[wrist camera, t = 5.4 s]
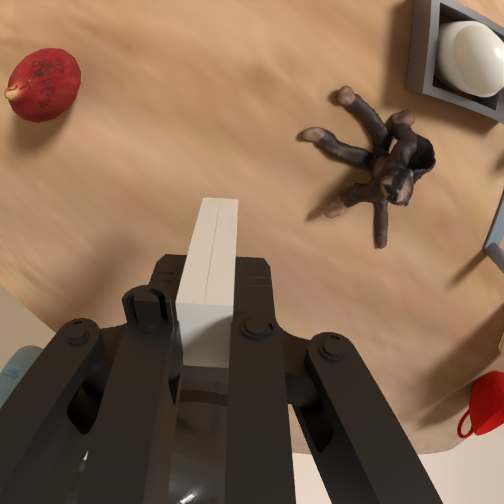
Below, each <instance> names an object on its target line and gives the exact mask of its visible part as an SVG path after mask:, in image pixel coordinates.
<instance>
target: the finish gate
mask: <svg viewBox="0 0 504 504" xmlns="http://www.w3.org/2000/svg"><path fill="white" fill-rule="evenodd" d="M503 235H504V194H503V197H502V200H501V203H500V206H499V209H498V211H497V214H496V217H495V220H494V222H493V225H492V228H491V230H490V233H489V235H488V238H487V240H486V243H485V245H484V248H485V253H486V254H487V255H488V256H489V257H490V259H491V260H492V261H493V262H494V263H495V264H496V265H497V266H498V267H499V269H500V270H501V271H502V272H503V273H504V251H503V250H502V249H501V248H500V247H499V245H500V242H501V240H502V237H503Z"/></svg>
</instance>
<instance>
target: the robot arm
mask: <svg viewBox="0 0 504 504" xmlns="http://www.w3.org/2000/svg"><path fill="white" fill-rule="evenodd" d="M237 216H238V199H222V198H203V201H202V204H201V208H200V211H199V215H198V218H197V222H196V225H195V229H194V233H193V236H192V240H191V243H190V247H189V251H188V255H173V254H165V255H164V256H163V257H162V258H161V259H160V260H159V261H157V263H156V265H155V268H154V271H153V273H152V276H151V279H150V282H149V284H148V285H141V286H138V287H135V288H132V289H131V290H129V291H128V292H126V293H125V295H124V296H123V298H122V303H123V307H124V311H125V315H126V319H127V323H125V324H123V325H120V326H116V327H110V328H103V329H99V327H98V326H97V324H96V323H95V322H94V321H92V320H90V319H85V318H79V319H74V320H72V321H69V322H67V323H66V324H65V325H64V326H62V327H61V328H60V330H59V331H58V332H57V333H56V335H55V336H54V337H53V338H52V340H51V341H50V342H49V343H48V345H47V346H46V347H45V348H44V350H43V349H42V348H39V347H37V346H25V347H23V348H21V349H19V350H18V351H17V352H16V353H15V354H14V355H13V356H12V358H11V359H10V360H9V361H8V363H7V364H6V366H5V367H4V368H3V370H2V371H1V373H0V504H296V497H295V484H294V471H293V460H292V447H291V436H290V425H289V414H288V404H291V405H292V407H293V409H294V412H295V414H296V417H297V419H298V422H299V424H300V427H301V429H302V432H303V434H304V437H305V439H306V442H307V444H308V446H309V449H310V451H311V454H312V456H313V459H314V461H315V464H316V466H317V469H318V471H319V473H320V476H321V478H322V481H323V483H324V485H325V488H326V490H327V493H328V495H329V498H330V500H331V502H332V504H443V502H442V501H441V499H440V497H439V495H438V493H437V491H436V489H435V487H434V485H433V483H432V481H431V480H430V478H429V476H428V474H427V472H426V470H425V468H424V467H423V465H422V463H421V461H420V459H419V457H418V455H417V454H416V452H415V450H414V448H413V446H412V445H411V443H410V441H409V439H408V437H407V436H406V434H405V432H404V430H403V429H402V427H401V425H400V423H399V421H398V420H397V418H396V416H395V414H394V413H393V411H392V409H391V407H390V406H389V404H388V402H387V401H386V399H385V397H384V395H383V394H382V392H381V390H380V388H379V387H378V385H377V383H376V382H375V380H374V378H373V377H372V375H371V373H370V371H369V370H368V368H367V366H366V365H365V363H364V361H363V360H362V358H361V356H360V355H359V353H358V351H357V350H356V348H355V346H354V345H353V344H352V343H351V342H350V340H349V339H348V338H346V337H344V336H342V335H341V334H337V333H333V332H322V333H320V334H317V335H315V336H314V337H313V338H312V339H311V340H307V339H303V338H299V337H296V336H293V335H291V334H289V333H287V332H285V331H284V330H283V329H282V328H281V327H280V326H279V325H278V323H277V321H276V318H275V310H274V300H273V290H272V280H271V271H270V266H269V265H268V263H267V262H266V261H265V259H264V258H253V257H235V256H236V235H237Z"/></svg>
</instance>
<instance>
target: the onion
mask: <svg viewBox="0 0 504 504" xmlns="http://www.w3.org/2000/svg"><path fill="white" fill-rule="evenodd" d="M80 84H81V71H80V69H79V66H78V64H77V62H76V60H75V57H73V56H72V55H70V54H69V53H68V52H66V51H65V50H62V49H54V48H46V49H41V50H39V51H36V52H34V53H32V54H30V55H28V56H26V57H25V58H24V59H23V60H22V61H21V62H20V63H19V64H18V65H17V66H16V68H15V69H14V71H13V73H12V75H11V77H10V79H9V82H8V88H7V89H5V98H7V99H8V101H9V103H10V105H11V107H12V109H13V111H14V112H15V113H16V114H18V115H19V116H20V117H21V118H22V119H24V120H28V121H31V122H36V123H40V122H43V121H47V120H51V119H55V118H56V117H57V116H59V115H60V114H61V113H62V112H64V111H65V110H67V109H68V108H69V107H70V105H71V104H72V103H73V101H74V100H75V98H76V95H77V93H78V90H79V87H80Z"/></svg>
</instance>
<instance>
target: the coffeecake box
mask: <svg viewBox="0 0 504 504" xmlns="http://www.w3.org/2000/svg"><path fill="white" fill-rule="evenodd" d="M498 348H499V350H500V352H501V353H502V355H503V357H504V332H503V335H502V338H501V340H500V343H499V345H498Z"/></svg>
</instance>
